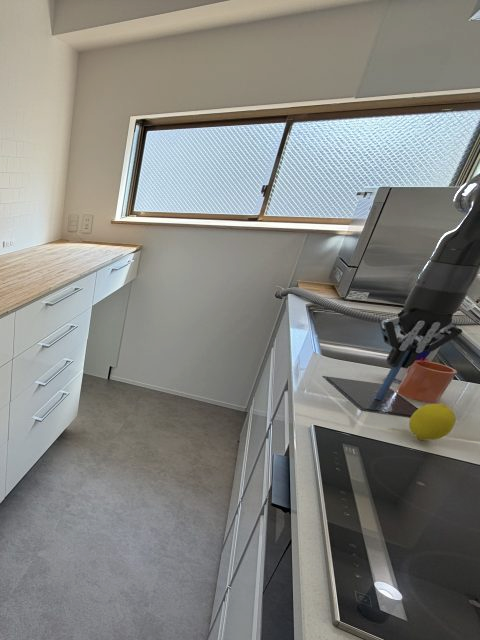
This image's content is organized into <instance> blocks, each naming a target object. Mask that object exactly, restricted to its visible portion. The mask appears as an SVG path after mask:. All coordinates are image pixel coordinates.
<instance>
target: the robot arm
mask: <svg viewBox="0 0 480 640" xmlns="http://www.w3.org/2000/svg"><path fill="white" fill-rule="evenodd" d="M453 206H454V208H455V209H456V211H458V212H459V213H461V214H464V215H466V216H465V217H464V218H463V220H462V221H461V223H460V224H459V225H458V226H457V227H456V228H455V229H451V230H449V231H447V232H445V233H444V234H443V235H442V237H441V238H440V239H439V241H438V242H437V245H436V247H435V248H434V250H433V252H432V254H431V256H430V258H429V260H428V261H427V263H426V264H425V266H424V267H423V269H422V270H421V272H420V273H419V275H418V277H417V278H416V281H415V282H414V285H413V286H412V289H411V290H410V292H409V294H408V295H407V298H406V300H405V303H404V305H403V308H402V309H401V310H400V311H398V313H397V314H396V316H394V317H390V318H385V317H384V318H380V319H379V321H378V323H379V328H380V331H381V335H382V338H383V342H384V343H385V344H386V345H388V346H390V347H392V348H391V350H390V352H389V354H388V355H387V358H386V363H387V365H388V366H390V367H391V368H392V367H397V366H398V365H399V363H400V361H401V359H402V357H403V356H404V354H405V350H406V349H407V347H408V346H409V344H412V345H413V348H412V349H411V351H410V352H409V354H408V356H407V358H406V359H405V361H404V363H403V365H402V366H401V367H402V368H408V367H409V366H411V365H413V363H414V361H415V360H416V358H417V356H418V355H419V353H421V352H423V351H434V350H435V349H437V348H439V347H440V348H441V347H442V346H443V345H445V344H446V343H449V342H450V341H451V340H453V339H454V338H456V337H457V336H459V335H461V334H462V333H463V329H461V328H460V327H457V326H455V325H454V324H453V323H452V322H453V316H454V314H456V313H457V312H458V311H459V309H460V308H461V306H462V304H463V302H464V301H465V299H466V297H467V295H468V294H469V292H470V290H471V289H472V287H473V285H474V284H475V282H476V280H477V279H478V276H479V273H480V172H479V173H478V174H476V175H475V176H473V177H472V178H470V179H469V180H468V181H466V182H464V184H463V185H462V186H461V187H460V188H459V189H458V190H457V192H456V194H455V196H454V199H453ZM398 327H399V329H398V331H397V333H396V329H397V328H398ZM410 342H411V343H410ZM440 348H439V349H440Z"/></svg>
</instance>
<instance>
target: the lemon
mask: <svg viewBox="0 0 480 640" xmlns="http://www.w3.org/2000/svg"><path fill="white" fill-rule="evenodd" d="M456 419H457V418H456V414H455V412H454V411H453V410H452V409H451V408H450V407H449V406H447V405H446V404H445V403H428V404H425V405H422V406H421V407H419V408H418V410H416V411H415V412H414V413H413V415H412V416H411V418H409V421H408V428H409V430H410V431H411V433H412V434H413V435H415V436H416V438H417V439H418V440H419V441H426V440H431V441H433V440H439V439H442V438H444V437H446V436H448V435H449V433H451V432H452V430H453V428H454V427H455V424H456Z"/></svg>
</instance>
